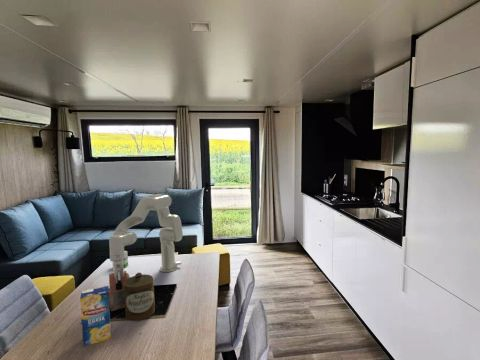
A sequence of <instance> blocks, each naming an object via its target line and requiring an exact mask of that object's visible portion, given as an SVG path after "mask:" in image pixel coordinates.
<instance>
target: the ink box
mask: <svg viewBox="0 0 480 360" xmlns="http://www.w3.org/2000/svg"><path fill="white" fill-rule="evenodd" d="M128 256H129V255H128V251H127V250H124V259H123V268H124V269H125V268H127V267H128V266H129V260H128V258H129V257H128Z"/></svg>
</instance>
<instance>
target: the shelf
mask: <svg viewBox="0 0 480 360" xmlns="http://www.w3.org/2000/svg"><path fill="white" fill-rule="evenodd" d="M128 278H130V274H129V272H128V273H127V279H128ZM109 308H110V312H114V311H117V310H121V309H123V308H124V309H125V290H124V289H123V290H119V291H114V292H113V295H111V296H110V289H109Z"/></svg>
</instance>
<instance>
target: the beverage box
mask: <svg viewBox="0 0 480 360" xmlns="http://www.w3.org/2000/svg"><path fill="white" fill-rule="evenodd" d="M109 290H110V287H109V285H106V286H105V285H104V286H102V287H96V288H90V289H86V290H82V291H81V292H80V293H81V294H80V311H81V313H80V314H81V330H82V331H81V332H82V333H81V334H82V347H87V346H90V345H93V344H97V343H101V342H103V341H107V340H111V339H112V336H111V335H112V334H111V333H112V332H111V331H112V329H111V308H110V302H109Z"/></svg>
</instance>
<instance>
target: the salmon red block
mask: <svg viewBox="0 0 480 360" xmlns="http://www.w3.org/2000/svg"><path fill="white" fill-rule="evenodd" d="M117 277H118V276H117ZM117 280H118V279H117ZM126 280H127V270H124V277H122V276H121V281H122V289H119V290H123V289H124V282H125V281H126ZM108 281H109V282H108V284H109V285H108V286H109V290H110V296H111V295H113V292H114V291H119V290H116V278H115V277H114V273H113V272H111V273H108Z"/></svg>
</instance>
